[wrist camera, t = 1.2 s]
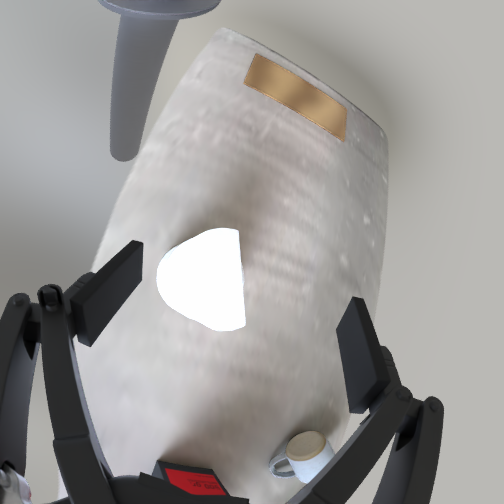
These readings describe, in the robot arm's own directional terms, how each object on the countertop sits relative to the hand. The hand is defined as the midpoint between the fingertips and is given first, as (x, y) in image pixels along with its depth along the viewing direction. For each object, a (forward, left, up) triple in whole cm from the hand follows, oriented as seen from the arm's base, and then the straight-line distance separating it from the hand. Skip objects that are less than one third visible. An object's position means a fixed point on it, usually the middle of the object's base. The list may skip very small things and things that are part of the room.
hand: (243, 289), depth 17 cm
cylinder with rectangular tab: (+1, +2, -20) cm, 20 cm away
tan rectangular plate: (-4, +39, -20) cm, 44 cm away
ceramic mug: (+33, -13, -20) cm, 41 cm away
